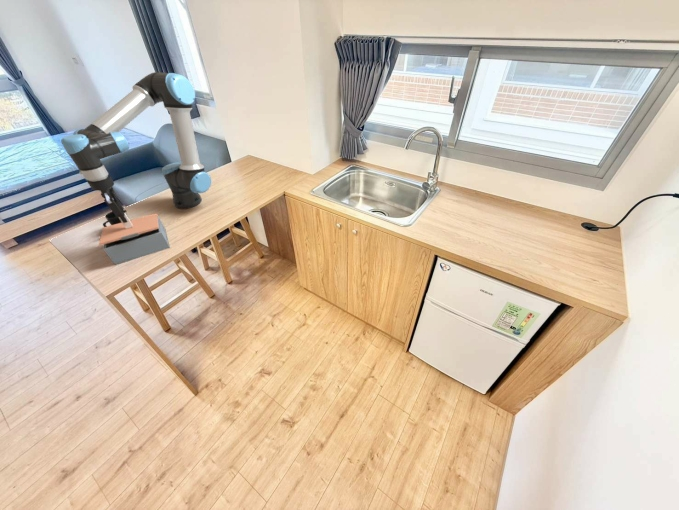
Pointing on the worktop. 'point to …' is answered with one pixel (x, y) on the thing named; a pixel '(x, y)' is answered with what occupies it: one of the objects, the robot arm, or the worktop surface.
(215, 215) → the worktop surface
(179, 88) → the robot arm
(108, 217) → the mug
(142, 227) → the lid
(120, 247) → the box
